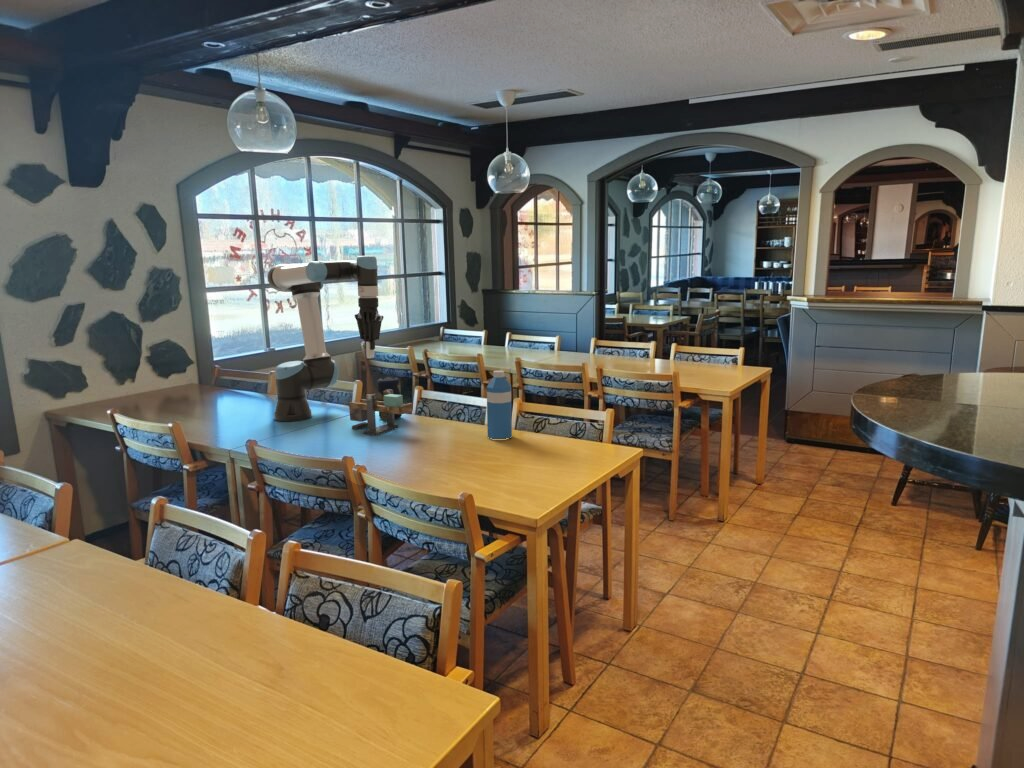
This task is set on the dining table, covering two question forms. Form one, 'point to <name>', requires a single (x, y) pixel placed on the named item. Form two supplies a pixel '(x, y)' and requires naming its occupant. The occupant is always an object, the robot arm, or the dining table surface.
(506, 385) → the water bottle
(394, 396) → the rider
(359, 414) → the beam
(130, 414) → the dining table surface
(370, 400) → the pivot frame
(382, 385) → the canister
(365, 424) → the stop pad
